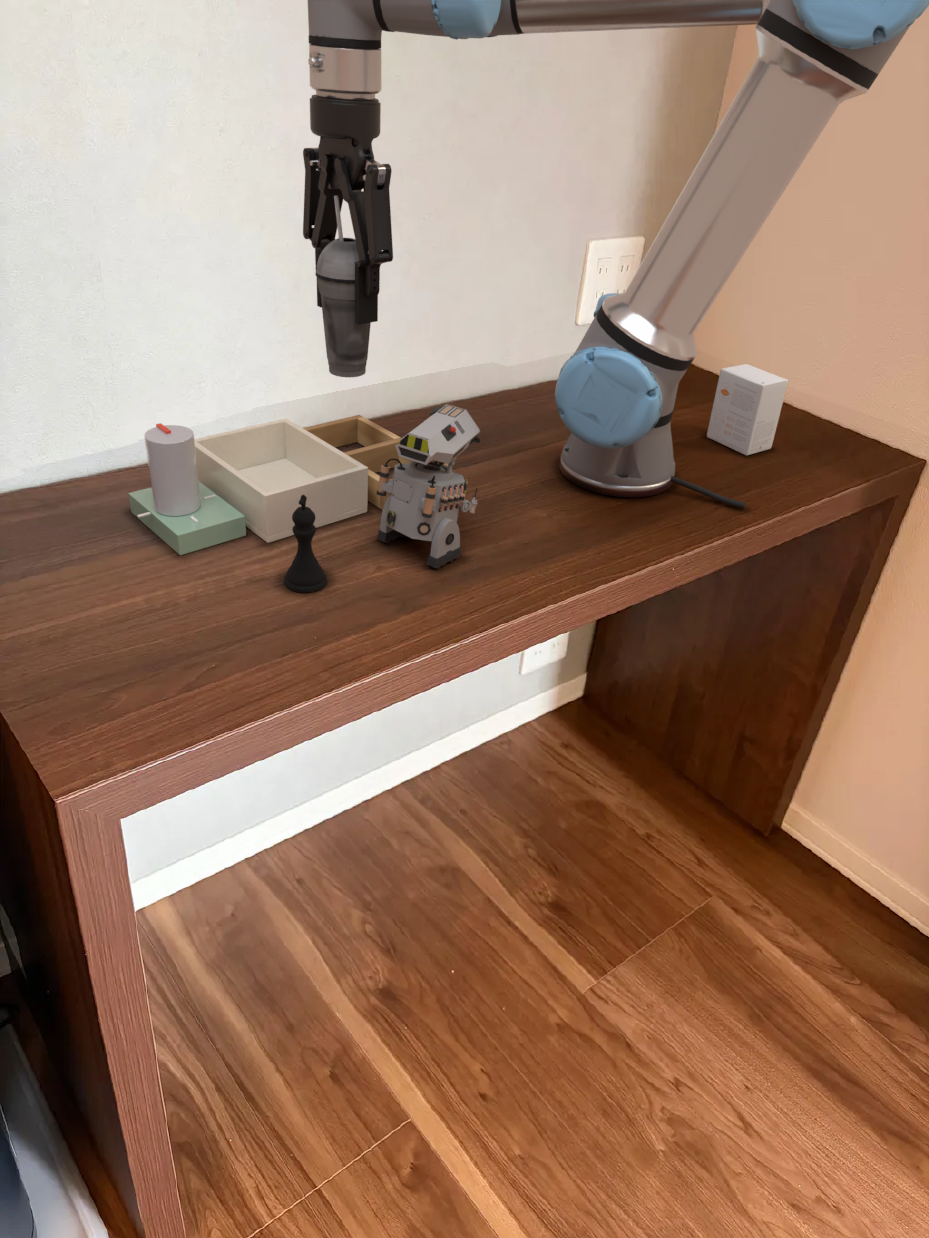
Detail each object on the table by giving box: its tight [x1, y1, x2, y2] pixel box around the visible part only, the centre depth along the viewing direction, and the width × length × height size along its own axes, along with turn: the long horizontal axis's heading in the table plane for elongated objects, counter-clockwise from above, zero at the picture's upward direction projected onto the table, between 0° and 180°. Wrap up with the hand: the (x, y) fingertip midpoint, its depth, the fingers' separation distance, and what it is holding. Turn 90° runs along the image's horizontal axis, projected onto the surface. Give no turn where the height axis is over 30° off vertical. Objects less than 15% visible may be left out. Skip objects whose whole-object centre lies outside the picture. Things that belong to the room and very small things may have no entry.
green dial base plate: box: [128, 481, 247, 556], centre depth 103 cm, size 12×10×3 cm
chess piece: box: [283, 495, 328, 594], centre depth 92 cm, size 4×4×10 cm
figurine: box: [376, 403, 481, 569], centre depth 100 cm, size 9×12×15 cm
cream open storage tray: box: [194, 417, 369, 544], centre depth 109 cm, size 18×14×6 cm
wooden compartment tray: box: [302, 414, 448, 510], centre depth 117 cm, size 20×10×4 cm, turn 41°
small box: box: [706, 363, 789, 456], centre depth 133 cm, size 8×6×10 cm
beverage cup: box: [315, 195, 372, 378], centre depth 108 cm, size 7×7×20 cm
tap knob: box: [144, 422, 201, 516], centre depth 99 cm, size 5×5×9 cm
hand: (346, 313), depth 110 cm, fingers closed on beverage cup, 7 cm apart
